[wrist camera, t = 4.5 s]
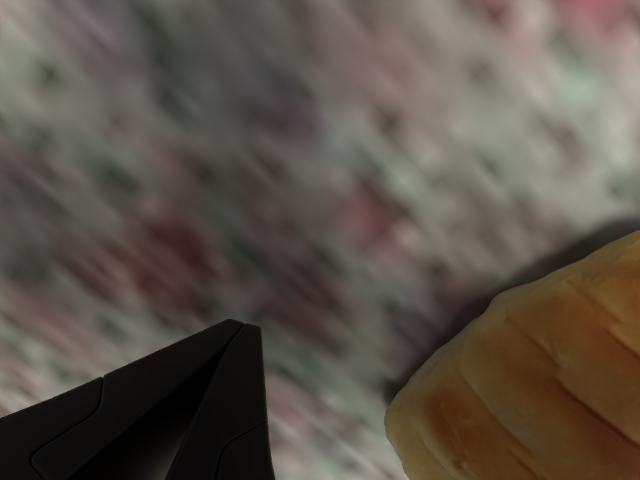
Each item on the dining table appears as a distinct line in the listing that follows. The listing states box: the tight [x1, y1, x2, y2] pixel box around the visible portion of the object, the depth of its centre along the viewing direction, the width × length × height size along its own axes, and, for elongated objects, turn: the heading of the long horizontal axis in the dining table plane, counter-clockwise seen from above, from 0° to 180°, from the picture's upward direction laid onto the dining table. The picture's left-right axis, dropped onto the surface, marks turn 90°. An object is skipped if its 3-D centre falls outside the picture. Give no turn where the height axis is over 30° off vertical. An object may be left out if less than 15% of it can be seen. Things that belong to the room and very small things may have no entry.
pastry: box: [384, 230, 640, 480], centre depth 8 cm, size 9×7×4 cm
